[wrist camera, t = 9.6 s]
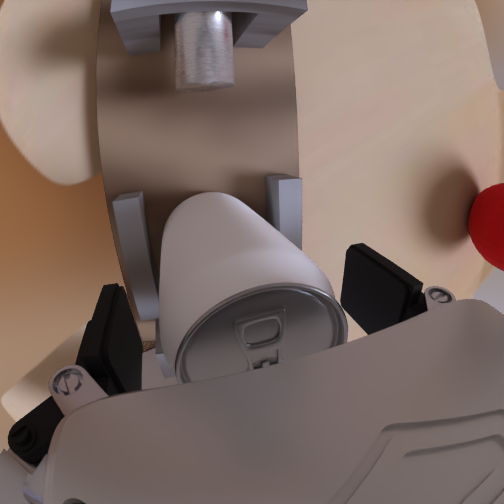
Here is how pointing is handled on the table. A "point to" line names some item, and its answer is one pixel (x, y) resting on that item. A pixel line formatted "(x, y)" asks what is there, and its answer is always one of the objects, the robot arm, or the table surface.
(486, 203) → the tomato
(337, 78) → the table surface
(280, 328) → the can
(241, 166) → the base plate with brackets
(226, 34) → the shaft
